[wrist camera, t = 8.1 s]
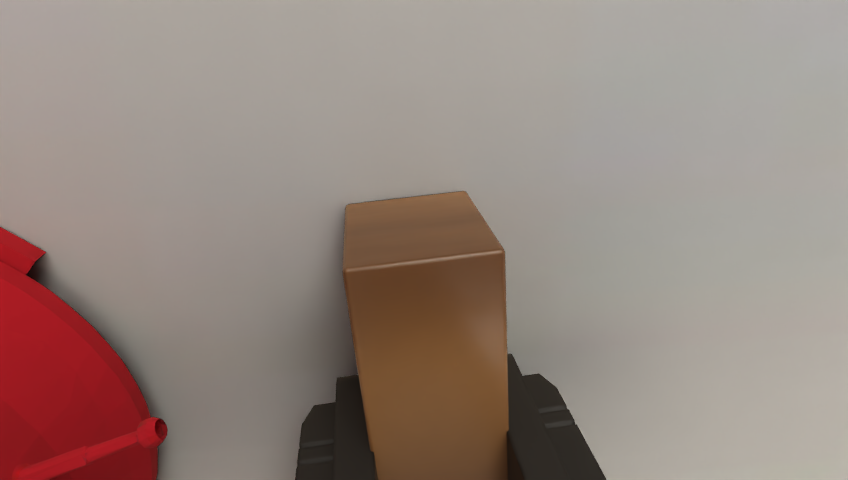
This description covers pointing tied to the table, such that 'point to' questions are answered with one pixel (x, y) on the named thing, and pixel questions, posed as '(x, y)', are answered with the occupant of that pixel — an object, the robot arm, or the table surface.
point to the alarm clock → (64, 388)
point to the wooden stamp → (429, 336)
